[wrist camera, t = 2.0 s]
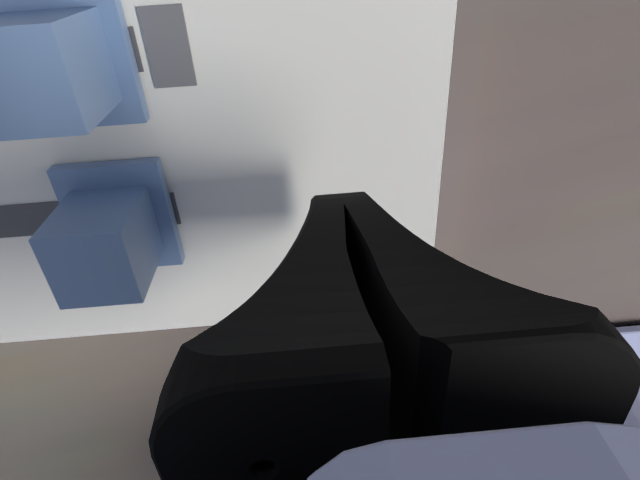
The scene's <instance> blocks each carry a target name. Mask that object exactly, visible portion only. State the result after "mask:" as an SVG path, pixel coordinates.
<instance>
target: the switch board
mask: <svg viewBox="0 0 640 480" xmlns="http://www.w3.org/2000/svg"><path fill="white" fill-rule="evenodd" d="M121 4H122V7H123V11H124V15H125V19H126V23H127V27H128V31H129V35H130V39H131V43H132V47H133V51H134V55H135V59H136V63H137V67H138V71H139V75H140V79H141V83H142V87H143V91H144V95H145V99H146V103H147V107H148V111H149V115H150V119H149V120H148V122H147V123H140V124H126V125H112V126H98V127H95V128H94V129H93V130H92V131H91V132H90V133H89V134H88V135H81V136H67V137H53V138H40V139H26V140H12V141H0V343H7V342H19V341H31V340H43V339H55V338H67V337H79V336H91V335H103V334H115V333H127V332H139V331H151V330H163V329H175V328H187V327H199V326H211V325H215V324H217V323H218V322H220V321H221V320H222V319H224V318H225V317H227V316H228V315H229V314H231V313H232V312H233V311H235V310H236V309H237V308H238V307H240V306H241V305H242V304H243V303H244V302H246V301H247V300H248V299H249V298H250V297H251V296H252V295H253V294H254V293H255V292H256V291H257V290H258V289H259V288H260V287H261V286H262V285H263V284H264V283H265V282H266V281H267V279H268V278H269V277H270V276H271V275H272V273H273V272H274V271H275V270H276V269H277V267H278V266H279V265H280V263H281V262H282V260H283V259H284V258H285V256H286V255H287V253H288V251H289V250H290V248H291V246H292V245H293V243H294V241H295V240H296V238H297V236H298V234H299V232H300V230H301V228H302V226H303V224H304V222H305V219H306V217H307V214H308V211H309V208H310V203H311V199H312V198H313V197H314V196H315V195H325V194H338V193H351V192H365V193H366V194H368V195H369V196H370V197H371V198H372V199H373V200H374V201H375V202H376V203H377V204H378V205H380V206H381V207H382V208H383V209H384V210H385V211H386V212H387V213H388V214H389V215H391V216H392V217H393V218H394V219H395V220H397V221H398V222H399V223H400V224H401V225H403V226H404V227H405V228H407V229H408V230H409V231H411V232H412V233H413V234H415V235H416V236H418V237H419V238H421V239H422V240H423V241H425V242H426V243H428V244H429V245H431V246H433V247H434V243H435V233H436V222H437V211H438V201H439V190H440V179H441V169H442V158H443V147H444V137H445V126H446V115H447V105H448V94H449V83H450V73H451V62H452V51H453V41H454V30H455V19H456V9H457V0H121ZM152 157H160V158H161V162H162V166H163V170H164V174H165V178H166V182H167V186H168V190H169V194H170V198H171V202H172V206H173V210H174V214H175V218H176V222H177V226H178V230H179V234H180V238H181V242H182V246H183V250H184V254H185V259H184V262H183V264H182V265H169V266H157V269H156V271H155V274H154V277H153V279H152V282H151V284H150V287H149V290H148V292H147V295H146V297H145V300H144V303H137V304H125V305H113V306H101V307H88V308H76V309H64V310H60V309H59V306H58V304H57V302H56V300H55V298H54V295H53V293H52V291H51V289H50V287H49V285H48V282H47V280H46V278H45V276H44V274H43V272H42V269H41V267H40V265H39V263H38V261H37V259H36V256H35V254H34V252H33V250H32V248H31V245H30V243H29V241H28V240H29V239H30V238H31V236H32V235H33V234H34V233H35V232H36V231H37V229H38V228H39V227H40V226H41V225H42V223H43V222H44V221H45V220H46V219H47V218H48V216H49V215H50V214H51V213H52V212H53V210H54V209H55V208H56V207H57V206H58V205H59V202H58V200H57V197H56V195H55V192H54V190H53V187H52V185H51V182H50V180H49V177H48V175H47V172H46V171H47V170H48V169H49V168H50V167H51V166H52V165H57V164H71V163H84V162H98V161H111V160H125V159H138V158H152Z"/></svg>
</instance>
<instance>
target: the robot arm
mask: <svg viewBox="0 0 640 480" xmlns="http://www.w3.org/2000/svg"><path fill="white" fill-rule="evenodd" d="M149 446H150V452H151V457H152V459H153V462H154V464H155V467H156V469H157V471H158V474H159V476H160V479H161V480H640V325H637V326H625V327H614V326H613V324H612V323H611V322H610V321H609V320H608V319H607V318H606V317H605V315H604V314H603V313H602V312H601V311H600V310H599V309H598V308H596V307H592V306H588V305H584V304H580V303H576V302H572V301H568V300H564V299H560V298H556V297H552V296H548V295H544V294H541V293H537V292H534V291H531V290H528V289H525V288H522V287H519V286H516V285H513V284H510V283H508V282H505V281H502V280H500V279H497V278H494V277H492V276H490V275H487V274H485V273H483V272H480V271H478V270H476V269H474V268H471V267H469V266H467V265H465V264H463V263H461V262H459V261H457V260H455V259H453V258H452V257H450V256H448V255H446V254H444V253H443V252H441V251H439V250H437V249H436V248H434V247H433V246H431V245H429V244H428V243H426V242H425V241H423V240H422V239H421V238H419V237H418V236H416V235H415V234H413V233H412V232H411V231H409V230H408V229H407V228H405V227H404V226H403V225H401V224H400V223H399V222H398V221H397V220H395V219H394V218H393V217H392V216H391V215H389V214H388V213H387V212H386V211H385V210H384V209H383V208H382V207H381V206H380V205H378V204H377V203H376V202H375V201H374V200H373V199H372V198H371V197H370V196H369V195H368V194H366V193H365V192H351V193H338V194H325V195H315V196H314V197H313V198H312V199H311V203H310V208H309V211H308V214H307V217H306V219H305V222H304V224H303V226H302V228H301V230H300V232H299V234H298V236H297V238H296V240H295V241H294V243H293V245H292V246H291V248H290V250H289V251H288V253H287V255H286V256H285V258H284V259H283V260H282V262H281V263H280V265H279V266H278V267H277V269H276V270H275V271H274V272H273V273H272V275H271V276H270V277H269V278H268V279H267V281H266V282H265V283H264V284H263V285H262V286H261V287H260V288H259V289H258V290H257V291H256V292H255V293H254V294H253V295H252V296H251V297H250V298H249V299H248V300H247V301H246V302H244V303H243V304H242V305H241V306H240V307H238V308H237V309H236V310H235V311H233V312H232V313H231V314H229V315H228V316H227V317H225V318H224V319H222V320H221V321H220V322H218V323H217V324H215V325H214V326H212V327H210V328H209V329H207V330H206V331H204V332H202V333H201V334H199V335H198V336H196V337H194V338H193V339H191V340H189V341H188V342H186V343H184V344H183V345H182V346H181V347H180V349H179V351H178V353H177V356H176V358H175V360H174V362H173V364H172V367H171V369H170V371H169V374H168V376H167V378H166V381H165V383H164V385H163V388H162V391H161V394H160V397H159V401H158V405H157V409H156V414H155V418H154V422H153V426H152V430H151V434H150V438H149Z"/></svg>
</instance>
